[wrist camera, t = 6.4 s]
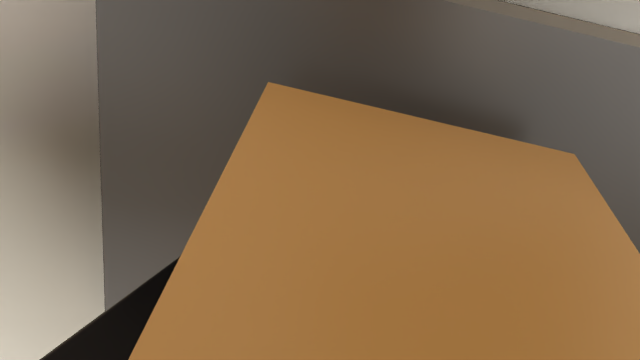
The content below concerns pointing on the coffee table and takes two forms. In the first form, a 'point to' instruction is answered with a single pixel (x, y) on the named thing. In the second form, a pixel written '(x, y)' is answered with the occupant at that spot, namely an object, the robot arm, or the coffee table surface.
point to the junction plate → (340, 95)
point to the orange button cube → (396, 247)
